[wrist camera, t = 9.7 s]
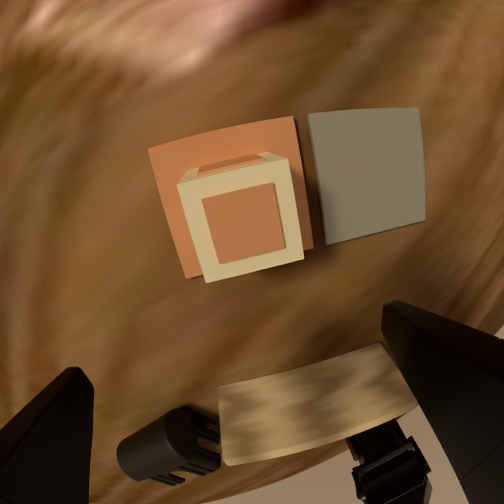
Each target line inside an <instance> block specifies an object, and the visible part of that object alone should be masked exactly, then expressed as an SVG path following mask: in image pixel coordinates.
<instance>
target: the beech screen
mask: <svg viewBox="0 0 504 504" xmlns="http://www.w3.org/2000/svg"><path fill="white" fill-rule="evenodd" d="M218 402H219V417H220V430H221V443H222V454H223V460H224V462H225V463H226V464H227V465H228V466H230V465H237V464H243V463H250V462H255V461H261V460H266V459H271V458H275V457H280V456H284V455H288V454H293V453H297V452H300V451H304V450H308V449H311V448H315V447H318V446H322V445H325V444H328V443H331V442H334V441H337V440H340V439H343V438H346V437H349V436H352V435H355V434H357V433H360V432H363V431H365V430H368V429H370V428H373V427H375V426H378V425H380V424H382V423H385V422H387V421H389V420H391V419H394V418H396V417H398V416H400V415H402V414H404V413H407V412H409V411H411V410H413V409H414V408H415V407H416V405H417V400H416V398H415V397H414V395H413V393H412V392H411V390H410V388H409V386H408V385H407V383H406V381H405V380H404V378H403V376H402V374H401V372H400V371H399V369H398V368H397V367H396V365H395V364H394V362H393V361H392V359H391V358H390V356H389V355H388V354H387V352H386V351H385V349H384V348H383V347H382V345H381V344H380V342H377V343H374V344H371V345H368V346H366V347H363V348H360V349H357V350H354V351H351V352H348V353H345V354H342V355H339V356H336V357H333V358H330V359H327V360H324V361H320V362H317V363H313V364H310V365H307V366H303V367H299V368H296V369H292V370H288V371H284V372H281V373H277V374H272V375H268V376H264V377H260V378H255V379H251V380H246V381H241V382H237V383H232V384H226V385H221V386H218Z"/></svg>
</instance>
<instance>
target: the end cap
mask: <svg viewBox="0 0 504 504" xmlns="http://www.w3.org/2000/svg"><path fill="white" fill-rule="evenodd" d="M215 427H216V422H215V421H214V420H212V419H210V418H208V417H205V416H203V415H201V414H199V413H197V412H195V411H193V410H191V409H188V408H184V407H182V408H177V409H174V410H171V411H169V412H167V413H166V414H164V415H163V416H161V417H160V418H158V419H156V420H155V421H153V422H152V423H150V424H148V425H147V426H145V427H144V428H142V429H140V430H139V431H137V432H135V433H134V434H132V435H130V436H129V437H127V438H125V439H124V440H122V441H121V442H120V443H119V445H118V448H117V460H118V463H119V465H120V467H121V469H122V470H123V471H124V472H125V473H126V474H127V475H128V476H129V477H130V478H132V479H133V480H136V481H138V482H139V481H142V480H145V479H148V478H149V479H152V480H155V481H158V482H161V483H164V484H167V485H171V486H175V485H177V484H181V483H183V482H185V478H182V477H178V476H175V475H172V474H170V473H169V472H172V471H185V472H190V473H193V474H197V475H200V476H204V475H206V474H208V473H212V472H214V471H216V470H218V469H219V468H220V467H221V456H220V454H219V453H216V452H213V451H210V450H207V449H205V448H202V447H200V446H199V444H198V443H202V442H204V441H207V442H210V443H212V444H215V445H218V444H219V434H218V433H217V432H214V431H212V429H214V428H215Z"/></svg>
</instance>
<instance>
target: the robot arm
mask: <svg viewBox="0 0 504 504" xmlns="http://www.w3.org/2000/svg"><path fill="white" fill-rule="evenodd" d="M381 330H382V333H383V336H384V338H385V340H386V342H387V344H388V346H389V348H390V350H391V353H392V355H393V357H394V359H395V361H396V364H397V366H398V368H399V370H400V372H401V374H402V376H403V378H404V380H405V381H406V383H407V385H408V386H409V388H410V390H411V392H412V393H413V395H414V397H415V398H416V400H417V402H418V404H419V405H420V407H421V409H422V411H423V412H424V414H425V416H426V417H427V420H428V422H429V423H430V425H431V427H432V429H433V431H434V433H435V434H436V436H437V438H438V440H439V442H440V444H441V446H442V448H443V450H444V452H445V454H446V455H447V457H448V459H449V461H450V463H451V465H452V467H453V469H454V471H455V473H456V476H457V478H458V480H460V481H459V482H460V484H461V486H462V489H463V491H464V493H465V495H466V497H467V500H468V502H469V504H504V339H499V338H498V337H496V336H493V335H490V334H488V333H485V332H483V331H480V330H477V329H475V328H472V327H469V326H467V325H464V324H461V323H459V322H456V321H453V320H450V319H448V318H445V317H442V316H440V315H437V314H434V313H432V312H429V311H426V310H424V309H421V308H418V307H416V306H413V305H410V304H407V303H405V302H402V301H399V300H394V301H391V302H388V303H385V304H384V306H383V312H382V322H381ZM93 408H94V387H93V385H92V383H91V382H90V380H89V379H88V378H87V376H86V375H85V373H84V372H83V371H82V369H81V368H79V367H68V368H66V369H65V370H64V371H63V372H62V373H61V374H60V375H58V376H57V377H56V378H55V379H54V380H53V381H52V382H51V383H50V384H49V385H47V386H46V387H45V388H44V389H43V390H42V391H41V392H40V393H39V394H38V395H37V396H35V397H34V398H33V399H32V400H31V401H30V402H29V403H28V404H27V405H26V406H25V407H24V408H23V409H22V410H21V411H19V412H18V413H17V414H16V415H15V416H14V417H13V418H12V419H11V420H10V421H9V422H8V423H7V424H6V425H5V426H4V427H3V428H2V429H1V430H0V504H89V476H90V460H91V447H92V437H93ZM346 442H347V444H348V447H349V449H350V451H351V454H352V456H353V459H354V460H355V461H357V460H359V462H360V465H359V466H357V467H354V468H353V472H352V476H353V478H354V481H355V487H356V495H357V498H358V499H360V500H362V501H363V502H364V503H365V504H429V500H430V496H431V492H432V486H431V484H430V481H429V479H428V477H427V474H428V473H430V472H431V469H430V467H429V465H428V463H427V461H426V460H425V458H424V456H423V454H422V453H421V451H420V449H419V447H418V445H417V444H416V442H415V441H414V439H413V437H412V436H410V437H409V438H408V439H406V437H405V435H404V433H403V431H402V430H401V428H400V426H399V424H398V422H397V420H396V419H395V418H394V419H391V420H389V421H387V422H385V423H382V424H380V425H378V426H375V427H373V428H370V429H368V430H365V431H363V432H360V433H357V434H355V435H352V436H349V437H346ZM412 449H414V450H412Z"/></svg>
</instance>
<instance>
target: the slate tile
mask: <svg viewBox="0 0 504 504" xmlns="http://www.w3.org/2000/svg"><path fill="white" fill-rule="evenodd" d="M306 116H307V121H308V126H309V132H310V138H311V143H312V149H313V155H314V162H315V168H316V175H317V182H318V189H319V196H320V204H321V212H322V220H323V229H324V238H325V243H326V245H329V244H333V243H337V242H341V241H345V240H349V239H353V238H357V237H361V236H365V235H369V234H373V233H377V232H381V231H385V230H389V229H393V228H397V227H401V226H405V225H408V224H412V223H416V222H420V221H424V220H425V171H424V155H423V142H422V133H421V124H420V116H419V109H418V108H372V109H355V110H341V111H330V112H321V113H312V114H306Z"/></svg>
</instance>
